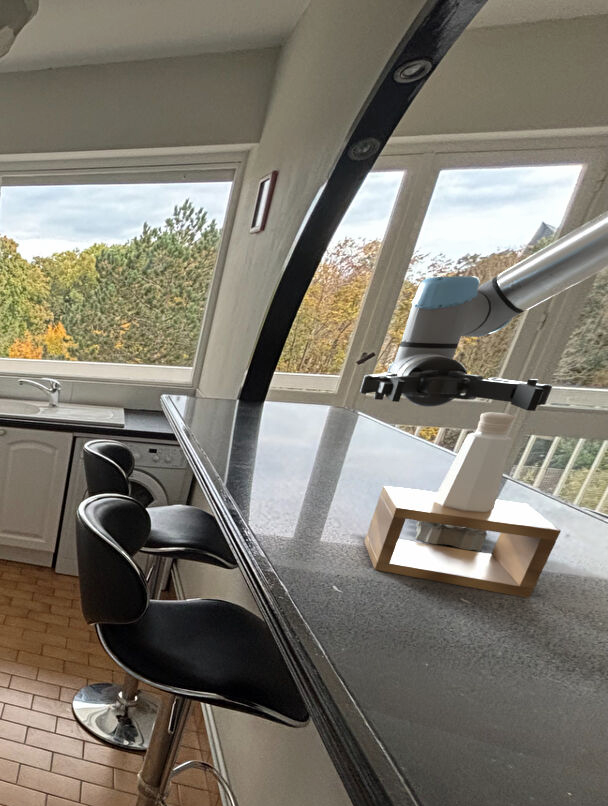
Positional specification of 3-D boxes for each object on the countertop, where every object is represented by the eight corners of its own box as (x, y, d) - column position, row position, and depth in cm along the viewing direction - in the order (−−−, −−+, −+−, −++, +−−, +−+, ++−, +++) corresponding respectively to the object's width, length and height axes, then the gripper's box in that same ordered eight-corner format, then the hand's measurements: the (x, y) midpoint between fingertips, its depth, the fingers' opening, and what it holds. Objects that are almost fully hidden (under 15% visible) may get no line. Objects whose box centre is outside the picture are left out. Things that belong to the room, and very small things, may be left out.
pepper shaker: (421, 499, 73) (453, 410, 69) (459, 498, 74) (494, 409, 70) (465, 513, 68) (503, 418, 64) (506, 512, 69) (546, 417, 65)
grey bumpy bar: (415, 522, 90) (424, 496, 88) (482, 534, 85) (493, 508, 83) (409, 540, 83) (419, 512, 81) (482, 555, 78) (494, 526, 76)
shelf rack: (500, 564, 75) (527, 503, 72) (529, 598, 66) (561, 530, 63) (364, 542, 82) (383, 485, 79) (374, 570, 73) (396, 507, 70)
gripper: (527, 410, 90) (585, 434, 73) (329, 397, 102) (340, 415, 85) (547, 359, 87) (613, 371, 70) (342, 352, 99) (356, 361, 82)
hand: (464, 395), depth 78 cm, fingers open, 13 cm apart
